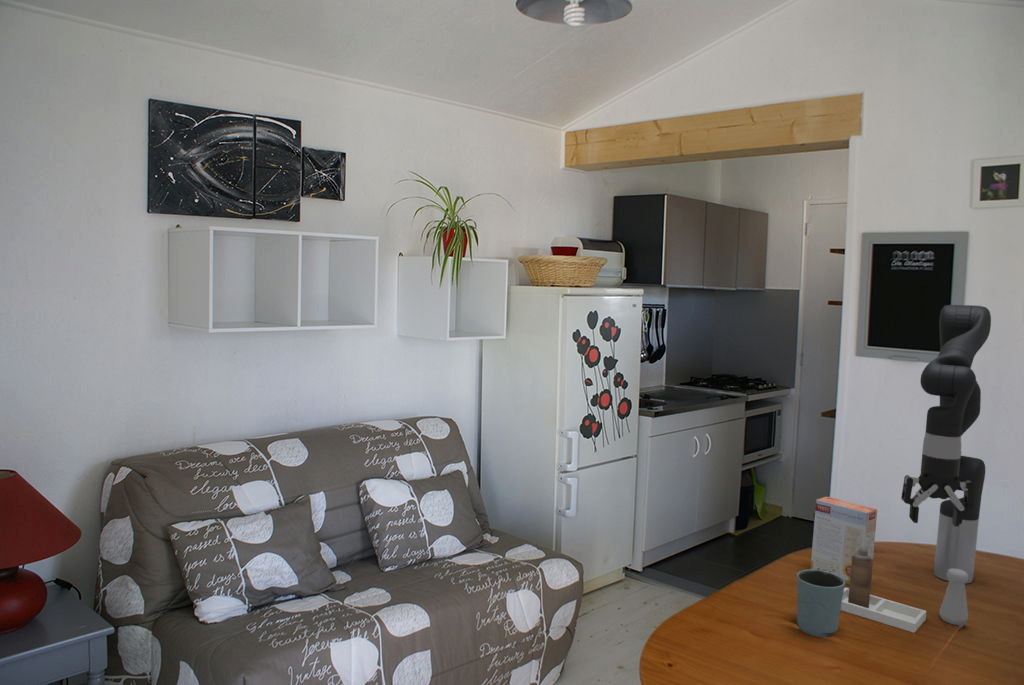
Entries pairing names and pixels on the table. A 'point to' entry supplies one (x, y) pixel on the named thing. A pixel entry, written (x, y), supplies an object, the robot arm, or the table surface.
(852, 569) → the pepper mill
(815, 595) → the blue-grey cup
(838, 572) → the cracker box
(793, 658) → the table surface
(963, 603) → the salt shaker
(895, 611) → the caddy
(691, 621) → the table surface
